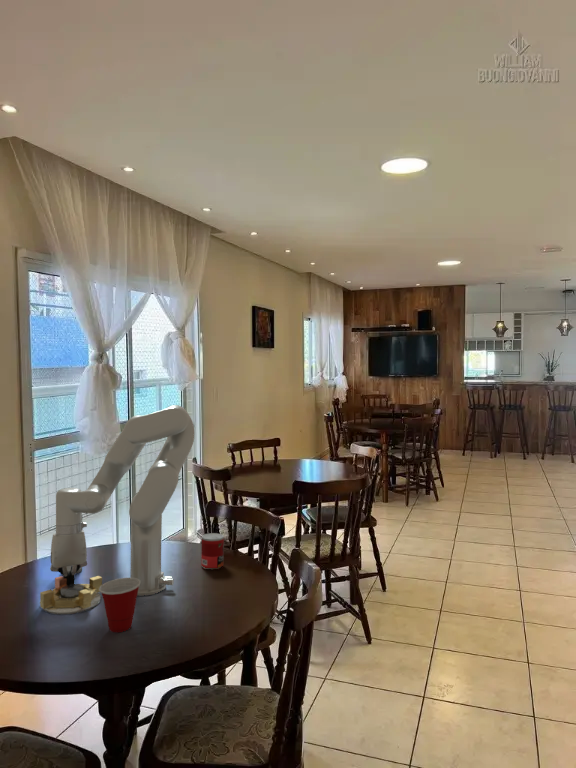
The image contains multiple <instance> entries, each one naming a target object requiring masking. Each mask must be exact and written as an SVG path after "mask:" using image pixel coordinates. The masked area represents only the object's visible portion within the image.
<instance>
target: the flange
mask: <svg viewBox="0 0 576 768" xmlns="http://www.w3.org/2000/svg"><path fill="white" fill-rule="evenodd" d="M81 584H82V583H74V584H70V585H66V586H64V587H62V588H61V596H59V598H75V597H79V591H81V590H84V586H83V585H81ZM101 597H102V595H101V593H100V592H97V593H96V596H95V597H94V599H93V600H92V601H91V606H90V607H87V608H84V609H83V608H82V607H80V606H77V607H74V608H55V607H53V606H52V607H49V608H45V609H43V610H44V612H45V613H48V614H51V615H57V616H58V615H59V616H61V615H62V616H66V615H67V616H68V615H75V614H79V613H83V612H87V611H89V610H91V609H93V608H95V607H96V606H98V605H99V604H100V603H101V599H102V598H101Z"/></svg>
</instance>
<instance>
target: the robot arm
mask: <svg viewBox="0 0 576 768" xmlns="http://www.w3.org/2000/svg"><path fill="white" fill-rule="evenodd" d="M165 438H166V440H165V442H164V443H163V445H162V448H161V450H160V452H159V453H158V455H157V456H156V459H155V461H154V462H153V464H152V465H150V468H149V469H148V471H147V475H146V477H145V479H144V481H143V483H142V484H141V487H140V488H139V490H138V492H136V494H135V495H134V496H133V497H132V499H131V502H130V505H129V508H128V509H129V510H128V515H129V518H130V523H131V524H130V577H129V578H136V579H139V580H140V581H141V582H140V586H139V589H138V594H137V597H138V596H139V597H140V596H141V597H143V596H144V595H145V596H151V595H156V594H158V592H159V593H161V592H162V590H163V591H164V590H165V589H166V587H167V586H174V584H175V579H174V578H173V576H166V575H165V574H164V573H165V572H164V571H162V536H163V535H162V534H163V532H162V531H163V529H162V527H163V526H162V524H163V523H162V519H163V513H164V511H165V510H166V507H167V505H168V504H169V502H170V501H171V498H172V496H173V495H174V493H175V491H176V488H177V487H178V483H179V475H180V472H181V470H182V469H183V466H184V464H185V462H186V460H187V458H188V456H189V454H190V452H191V450H192V448H193V444H194V442H195V441H194V440H195V427H194V423H193V419H192V418H191V416H190V414H189V413H188V411H187V410H186V409H185V408H184V407H183V406H181V405H179V404H173V405H170V406H167V407H166V408H164V409H162V410H161V409H160V410H158V411H155V412H152V413H148V414H144V415H141V414H139V415H138V414H137V415H134V416H131V417H130V418H129V419H128V420H127V421H126V423H125V424H124V427H123V428H122V430H121V432H120V433H119V435H118V436H117V438H116V439H115V441H114V443H113V444H112V445H111V448H110V449H109V450H108V451H107V453H106V456H105V457H104V461H103V463H102V466H101V467H100V469H99V471H98V472H97V473H96V475H95V477H94V478H93V479H92V481H91V483H90V485H89V486H88V488H86V490H81V489H80V488H79V487H78V488H77V487H65V488H61V489H59V490H58V491H56V493H55V532H54V533H53V534H52V537H51V543H50V544H51V546H50V563H51V565H50V572H54V573H55V572H56V573H57V572H58V573H60V574H61V576H63V577H64V578H67V585H70V584H75V575H77V574H76V572H77V571H78V570H79V569H80V568H82V569H83V568H85V567H87V565H88V561H87V560H88V557H87V556H88V555H87V553H88V551H87V542H86V535H85V531H84V528H87V526H88V524H87V522H83V514H88V515H89V514H90V515H94V514H98V513H100V512H102V511H103V510H104V509H105V507H106V504H107V503H108V501H109V500H110V497H111V496H112V495H113V493H114V491H115V489H117V486H118V485H119V483H120V482H121V480H122V478H123V477H124V476H125V475H126V474H127V473H128V472H129V470H130V469H131V468H132V466H133V465H134V463H135V462H136V460H137V458H138V457H139V455H140V453H141V452H142V450H143V449H144V447H145V445H146V444H147V443H151V442H154V441H158V440H162V439H165ZM67 566H71V569H70V572H69V574H68V572H67ZM160 591H161V592H160ZM155 593H156V594H155Z"/></svg>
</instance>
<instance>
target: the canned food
mask: <svg viewBox="0 0 576 768" xmlns="http://www.w3.org/2000/svg"><path fill="white" fill-rule="evenodd" d="M224 552H225V537H224V535H223V534H222V533H216V532H212V533H210V532H209V533H205V534H202V535H201V553H200V554H201V560H200V561H201V563H200V564H201V567H202V566H203V567H205V568H218V567H221V566H223V567H224V563H225V562H224V560H225V557H224V555H225V553H224Z"/></svg>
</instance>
